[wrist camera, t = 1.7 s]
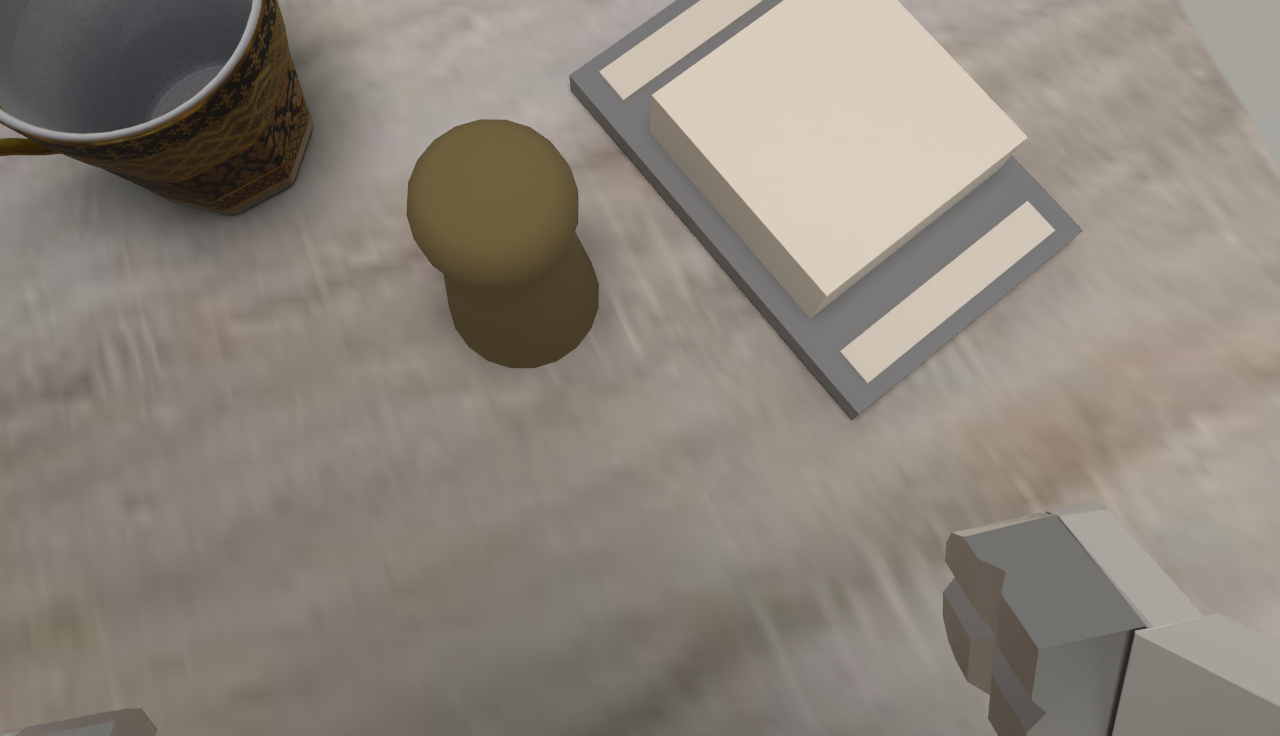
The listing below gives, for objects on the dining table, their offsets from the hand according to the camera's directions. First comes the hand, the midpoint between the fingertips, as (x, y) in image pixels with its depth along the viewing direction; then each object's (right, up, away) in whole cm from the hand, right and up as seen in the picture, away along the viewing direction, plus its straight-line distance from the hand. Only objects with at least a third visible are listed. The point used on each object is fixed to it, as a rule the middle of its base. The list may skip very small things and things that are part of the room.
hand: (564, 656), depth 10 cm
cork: (-4, +6, +28) cm, 29 cm away
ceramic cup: (-17, +12, +29) cm, 36 cm away
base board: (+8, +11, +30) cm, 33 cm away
